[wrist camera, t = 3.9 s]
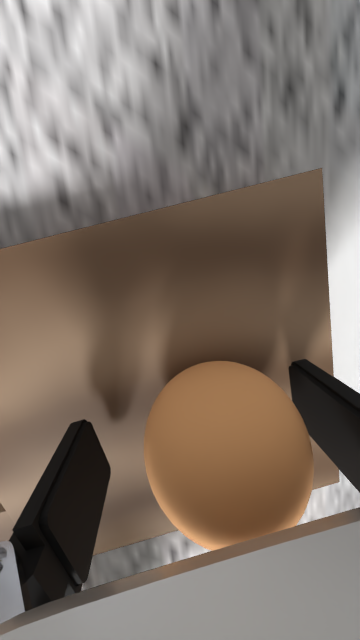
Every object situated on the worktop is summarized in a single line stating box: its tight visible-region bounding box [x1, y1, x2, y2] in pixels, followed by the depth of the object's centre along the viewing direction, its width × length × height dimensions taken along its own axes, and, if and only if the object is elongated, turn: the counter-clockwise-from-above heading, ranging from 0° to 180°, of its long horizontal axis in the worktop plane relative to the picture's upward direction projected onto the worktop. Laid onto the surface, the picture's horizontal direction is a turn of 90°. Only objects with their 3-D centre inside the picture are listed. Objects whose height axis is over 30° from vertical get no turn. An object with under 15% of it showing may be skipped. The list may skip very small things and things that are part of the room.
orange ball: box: [144, 361, 314, 551], centre depth 8 cm, size 6×6×6 cm
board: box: [0, 168, 339, 555], centre depth 12 cm, size 18×30×2 cm, turn 104°
